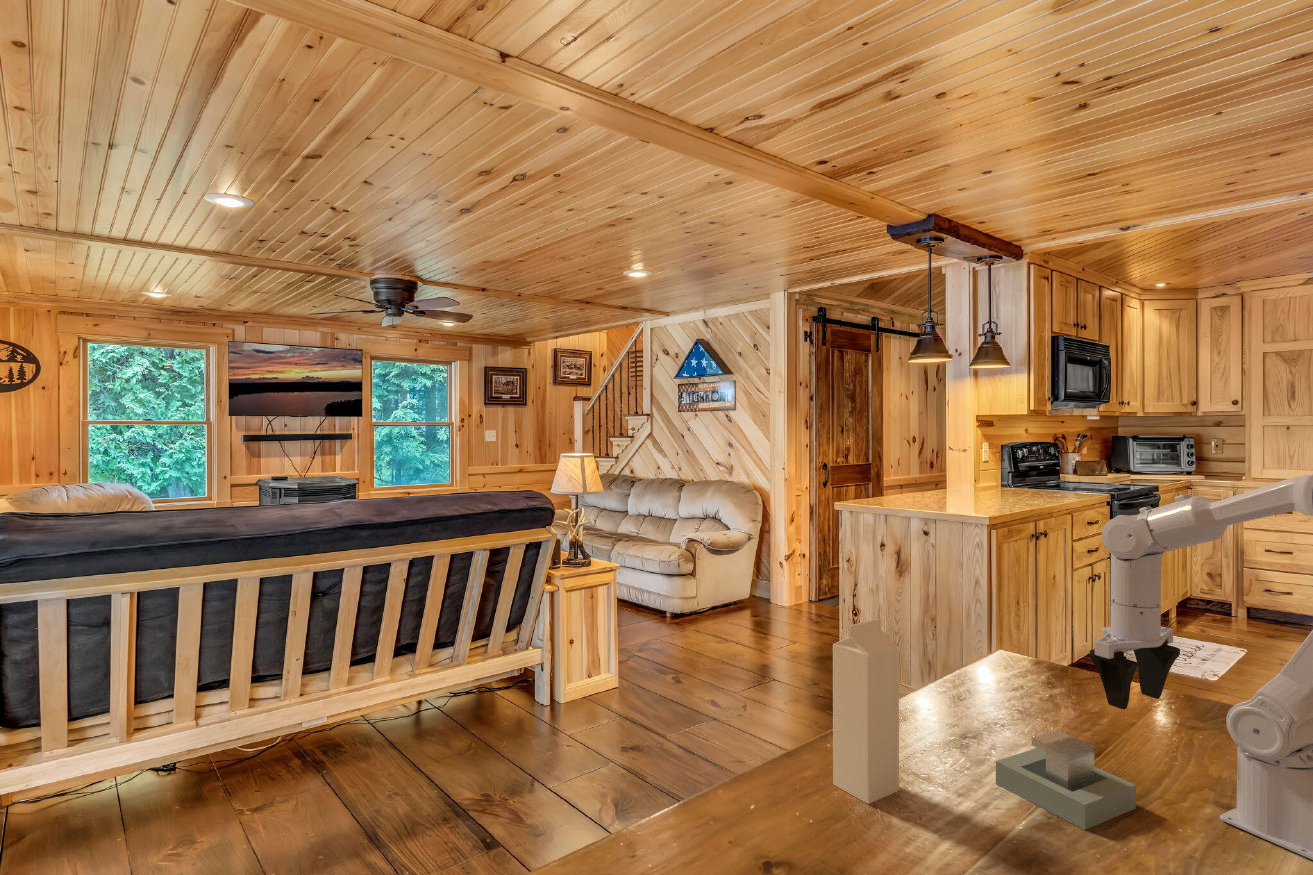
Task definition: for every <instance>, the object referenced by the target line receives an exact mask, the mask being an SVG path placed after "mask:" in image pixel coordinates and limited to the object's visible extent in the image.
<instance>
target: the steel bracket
mask: <svg viewBox="0 0 1313 875" xmlns="http://www.w3.org/2000/svg"><path fill="white" fill-rule="evenodd" d="M1031 746H1033V747H1035V748H1039V749H1041V750H1043V751H1046V779H1047V780H1049V781H1051V782H1053V783H1055V784H1057V785H1059V786H1061V787H1063V788H1065V789H1067V790H1069V791H1072V792H1073V791H1076V790H1079V789H1081V788H1084V787H1087V786H1089V785H1092V784H1094V767H1095V745H1094V744H1092V743H1089V742H1087V741H1085V740H1082V739H1080V738H1078V737H1075V736H1074V735H1070V734H1068V733H1065V732H1063V731H1061V730H1058V729H1056V730H1053V731H1049V732H1045V733H1043V734H1039V735H1035V736H1032V737H1031Z"/></svg>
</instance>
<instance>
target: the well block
mask: <svg viewBox="0 0 1313 875" xmlns="http://www.w3.org/2000/svg"><path fill="white" fill-rule="evenodd" d="M995 784H996V785H998V786H1000V787H1001V788H1004V789H1006V790H1007V791H1009V792H1011V793H1013V794H1015V795H1017V796H1019V797H1021V798H1023V799H1024V800H1026V801H1029V802H1030V803H1032V804H1034V805H1035V806H1038V807H1039V808H1042V809H1044V810H1045V811H1048V812H1050V813H1051V814H1053V815H1055V816H1057V817H1059V818H1060V819H1062V820H1064V821H1066V822H1068V823H1071V824H1072V825H1073V826H1075V827H1078V828H1079V829H1082V830H1084V831H1086V830H1088V829H1091V828H1093V827H1095V826H1098V825H1101V824H1102V823H1105V822H1107V821H1109V820H1112V819H1115V818H1117V817H1119V816H1121V815H1124V814H1126V813H1129V812H1131V811H1133V810H1136V809H1137V808H1136V806H1137V804H1136V802H1137V796H1136V795H1137V785H1136V784H1135V783H1133V782H1130V781H1129V780H1126V779H1124V778H1121V777H1119V776H1117V775H1114V774H1112V773H1110V772H1108V771H1105V770H1103V769H1101V768H1099V767H1097V766H1094V784H1092V785H1089V786H1087V787H1084V788H1081V789H1079V790H1076V791H1073V792H1072V791H1069V790H1067V789H1065V788H1063V787H1061V786H1059V785H1057V784H1055V783H1053V782H1051V781H1049V780H1047V779H1046V751H1043V750H1041V749H1039V748H1037V747H1035V748H1032V749H1029V750H1026V751H1022V752H1019V753H1017V754H1014V755H1013V754H1012V755H1010V756H1007V757H1004V758H1001V759H998V760H995Z"/></svg>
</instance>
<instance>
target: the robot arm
mask: <svg viewBox="0 0 1313 875" xmlns="http://www.w3.org/2000/svg"><path fill="white" fill-rule="evenodd" d="M1174 501H1175V502H1171V503H1168V504H1164V505H1161V506H1157V507H1155V508H1154V507H1151V506H1145V507H1144V506H1143V507H1141V508H1139V510H1138V511H1139V513H1138V514H1134V515H1133V514H1132V515H1125V514H1119V515H1116V516H1115V517H1114V518H1111V519H1110V520H1108V521H1107V522H1106V523H1105V524H1104V526H1103V527H1102V530H1101V541H1102V543H1103V545H1104V547H1105V549H1106V550H1107V551H1108V552H1109V553H1110V616H1109V617H1110V618H1109V619H1110V625H1109V626H1105V627H1102V633H1103V634H1104V635H1103V636H1102V637H1101V638H1099V639H1097V640H1094V648H1093V649H1090V650H1089V659H1090V660H1091V662H1092V663H1093V665H1094V667H1095V668H1096V670H1097V672H1098V675H1099V678H1100V679H1101V683H1102V685H1103V689H1104V692H1105V696H1106V700H1107V703H1108V705H1109V706H1112V707H1113V708H1114V707H1115V708H1118V709H1121V710H1127V708H1128V705H1129V701H1130V696H1131V695H1130V693H1131V686H1132V681H1133V679H1134V676H1135V673H1136V671H1137V670H1138V680H1139V689H1140V692H1141V695H1144V696H1145V697H1150V698H1152V699H1156V700H1159V699H1160V698H1161V696H1162V693H1163V690H1164V687H1165V684H1166V681H1167V679H1168V675H1169V673H1170V671H1171V668H1172V666H1173V665H1174V663H1175V661H1176V660H1177V659H1178V658H1179V656H1180V655H1181V649H1180V648H1179V647H1176V646H1174V645H1169V644H1173V643H1174V629H1173V628H1171V627H1170V628H1169V627H1166V626H1162V624H1161V623H1162V622H1161V621H1162V620H1161V619H1162V617H1161V616H1162V606H1161V605H1162V565H1163V556H1164V554H1165V553H1166V552H1170V551H1175V550H1179V549H1183V548H1187V547H1191V546H1197V545H1201V544H1204V543H1209V542H1213V541H1214V542H1215V541H1217V540H1219V539H1221V538H1222V536H1224V534H1225V532H1226V530H1227V528H1228V527H1229V526H1232V525H1237V524H1240V523H1244V522H1250V521H1254V520H1258V519H1263V518H1268V517H1273V516H1276V515H1282V514H1286V513H1291V512H1299V513H1301V514H1304V515H1307V516H1312V517H1313V473H1312V474H1304V475H1301V476H1300V475H1299V476H1294V477H1289V478H1287V479H1284V480H1280V481H1278V482H1273V483H1271V484H1267V485H1265V486H1261V487H1259V488H1258V487H1257V488H1255V489H1251V490H1249V491H1245V492H1242V493H1239V494H1237V495H1236V494H1235V495H1233V496H1232V495H1231V496H1230V497H1226V498H1223V499H1220V500H1217V501H1216V500H1212V499H1209V498H1207V497H1205V496H1202V495H1195V496H1192V495H1191V494H1190V493H1185V494H1180V495H1178V496H1175V497H1174ZM1131 651H1133V654H1134V657H1135V660H1136V661H1135V660H1132V659H1129V658H1127V655H1125V653H1127V652H1131ZM1225 721H1226V724H1225V725H1226V728H1227V732H1228V734H1229V735H1230V737H1231V739H1232V740H1233V742H1234V743H1235V744H1236V745H1237V751H1236V753H1237V756H1236V758H1237V759H1236V761H1237V762H1236V763H1237V764H1236V806H1235V808H1232V809H1230V810H1228V811H1226V812H1223V813H1222V814H1220V815H1219V819H1220V820H1221V821H1222V822H1225V823H1228V824H1229V825H1231V826H1234V827H1235V828H1238V829H1241V830H1244V831H1245V832H1247V833H1250V834H1252V835H1255V836H1257V837H1259V838H1261V839H1263V840H1265V841H1266V840H1267V841H1268V842H1270V843H1273V844H1275V845H1278V846H1280V847H1282V848H1284V849H1287V850H1289V851H1291V852H1294V853H1295V854H1297V855H1300V856H1303V857H1305V858H1307V859H1310V860H1311V861H1313V629H1312V630H1311V631H1310V633H1309V634H1308V635H1307V636H1306V638H1305V639H1304V641H1303V642H1302V643H1301V644H1300V646H1299V647H1298V648H1297V649H1296V651H1295V652H1294V653H1293V655H1292V656H1291V658H1290V659H1289V660H1288V661H1287V662H1286V663H1285V665H1284V666H1283V667H1282V669H1281V670H1280V672H1279V673H1277V675H1275V676H1274V677H1273V678H1271V680H1269V681H1268V682H1266V683H1265V684H1264V685H1263V686H1261V687H1260V688H1259V689H1258V690H1257V691H1256V692H1255V693H1254V695H1253V696H1252V697H1251V698H1250V699H1248V700H1246V701H1242V702H1238V703H1237V704H1234V705H1233V706H1231V708H1230V709H1229V710H1228V712H1227V714H1226V719H1225Z"/></svg>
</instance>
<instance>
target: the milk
mask: <svg viewBox="0 0 1313 875" xmlns="http://www.w3.org/2000/svg"><path fill="white" fill-rule="evenodd" d="M832 712H833V713H832V724H833V725H832V760H833V761H832V765H833V766H832V768H833V770H832V775H833V776H832V777H833V778H832V780H833V782H832V784H833V785H834V786H835V787H837V788H838V789H840V790H843V791H844V792H846V793H847V794H848V795H851V796H852V797H853V798H856V799H858V800H860V801H861V802H863V803H865V804H867V805H870V804H873V803H874V802H877V801H879V800H881V799H883V798H886V797H888V796H890V795H894V794H895V793H897V792H899V791H900V728H899V727H900V647H899V646H898V645H897V644H896V643H895V642H894V641H893V640H892V639H891V638H890V637H889V636H888V635H887V634H886V633H885V632H884V630H882V619H881V618H874V619H872V620H867V621H863V622H859V623H854V624H851V625H850V626H849V637H846V638H844V639H841V640H839V641H837V642H835V643H833V644H832Z"/></svg>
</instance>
